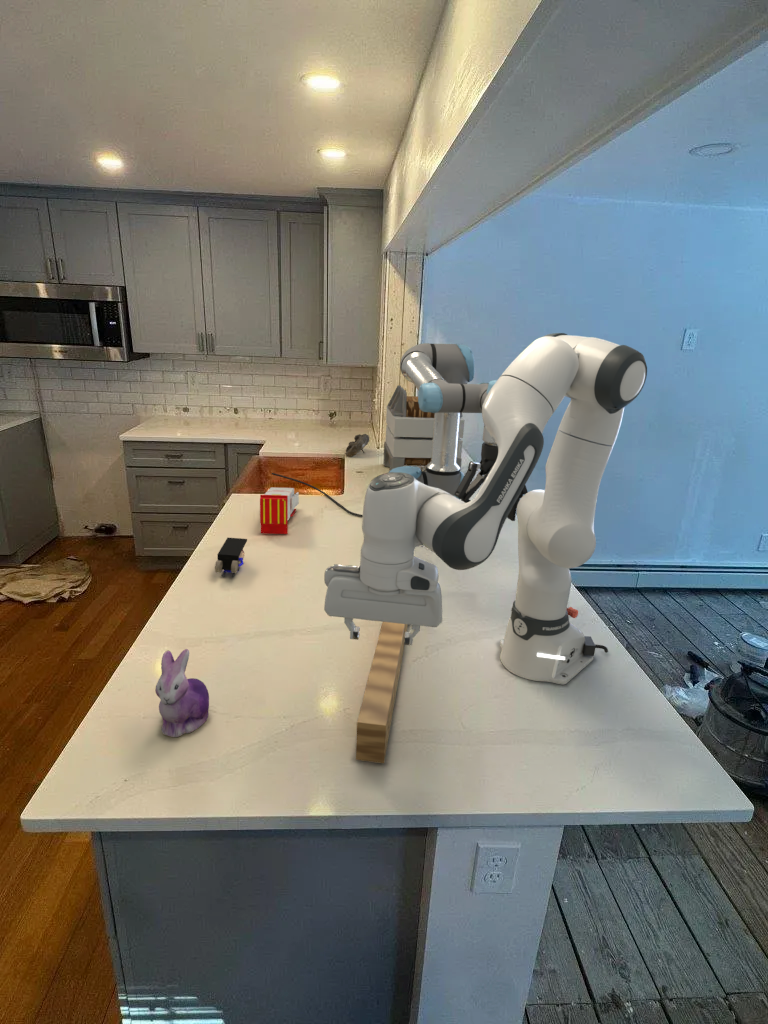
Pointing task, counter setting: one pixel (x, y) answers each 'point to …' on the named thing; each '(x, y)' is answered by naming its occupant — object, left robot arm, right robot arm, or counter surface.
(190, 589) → the counter surface
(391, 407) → the transformer
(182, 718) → the figurine
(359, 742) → the bar
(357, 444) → the fossil
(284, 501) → the toy
